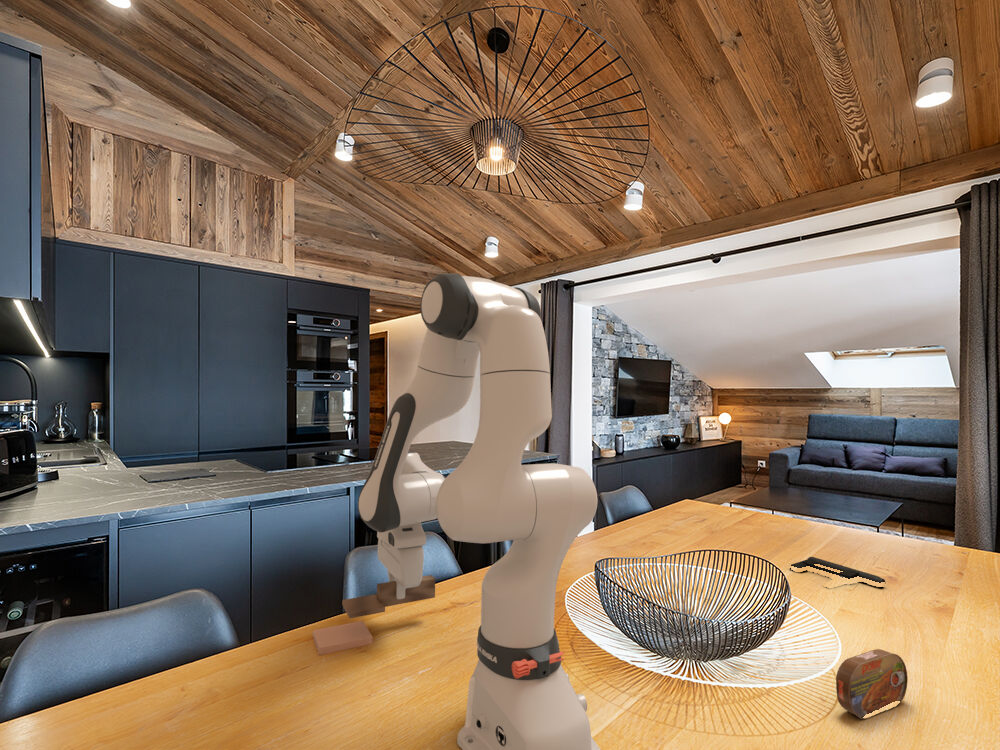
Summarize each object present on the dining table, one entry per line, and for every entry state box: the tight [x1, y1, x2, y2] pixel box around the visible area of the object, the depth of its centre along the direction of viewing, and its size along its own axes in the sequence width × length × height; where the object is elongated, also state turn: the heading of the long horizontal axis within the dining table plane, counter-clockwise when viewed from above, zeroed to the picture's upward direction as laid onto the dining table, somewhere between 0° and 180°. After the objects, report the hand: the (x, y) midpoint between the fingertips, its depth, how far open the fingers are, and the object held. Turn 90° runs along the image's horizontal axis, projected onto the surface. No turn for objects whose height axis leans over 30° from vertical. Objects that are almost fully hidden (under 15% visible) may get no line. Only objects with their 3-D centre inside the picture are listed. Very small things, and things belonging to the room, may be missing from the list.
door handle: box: [790, 556, 886, 583], centre depth 140 cm, size 3×20×16 cm
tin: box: [835, 648, 908, 720], centre depth 82 cm, size 15×3×8 cm, turn 114°
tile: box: [312, 620, 373, 656], centre depth 101 cm, size 8×2×10 cm
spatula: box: [341, 574, 436, 619], centre depth 106 cm, size 18×7×4 cm, turn 118°
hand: (397, 594), depth 107 cm, fingers closed on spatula, 2 cm apart
